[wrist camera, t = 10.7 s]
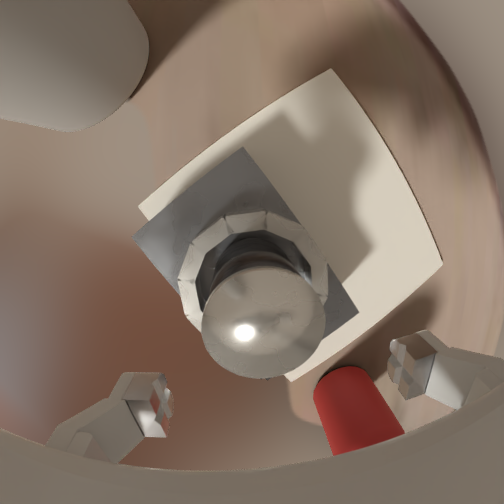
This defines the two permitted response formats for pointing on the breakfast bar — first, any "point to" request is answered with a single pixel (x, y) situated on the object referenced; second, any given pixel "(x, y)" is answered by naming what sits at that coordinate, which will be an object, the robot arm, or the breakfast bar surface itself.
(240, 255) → the lens
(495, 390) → the robot arm
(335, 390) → the beer can
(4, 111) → the cylinder vase
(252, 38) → the breakfast bar surface
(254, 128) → the mat
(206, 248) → the camera body
